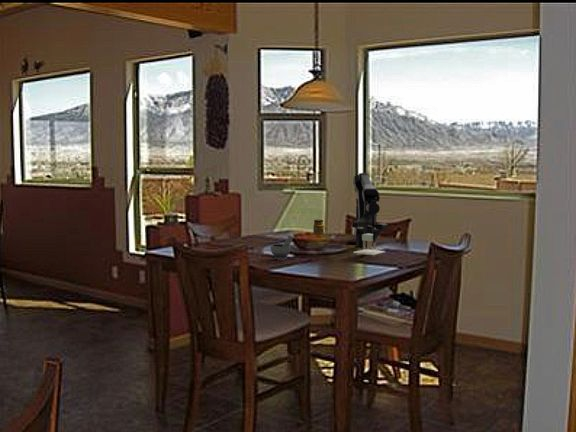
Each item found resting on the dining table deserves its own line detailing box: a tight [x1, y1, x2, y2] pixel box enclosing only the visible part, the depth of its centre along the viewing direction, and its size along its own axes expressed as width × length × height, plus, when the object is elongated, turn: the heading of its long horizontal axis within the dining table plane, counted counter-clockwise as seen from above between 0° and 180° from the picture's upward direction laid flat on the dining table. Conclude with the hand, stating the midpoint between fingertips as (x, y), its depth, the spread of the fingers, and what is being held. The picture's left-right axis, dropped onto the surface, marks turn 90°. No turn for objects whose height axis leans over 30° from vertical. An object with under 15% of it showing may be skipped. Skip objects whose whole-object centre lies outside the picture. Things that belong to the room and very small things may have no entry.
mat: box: [353, 248, 386, 256], centre depth 360 cm, size 12×12×1 cm
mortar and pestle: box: [270, 234, 294, 261], centre depth 340 cm, size 11×9×12 cm
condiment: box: [312, 219, 325, 234], centre depth 404 cm, size 7×8×12 cm
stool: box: [362, 233, 378, 250], centre depth 360 cm, size 6×6×8 cm
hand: (369, 242), depth 360 cm, fingers closed on stool, 5 cm apart
